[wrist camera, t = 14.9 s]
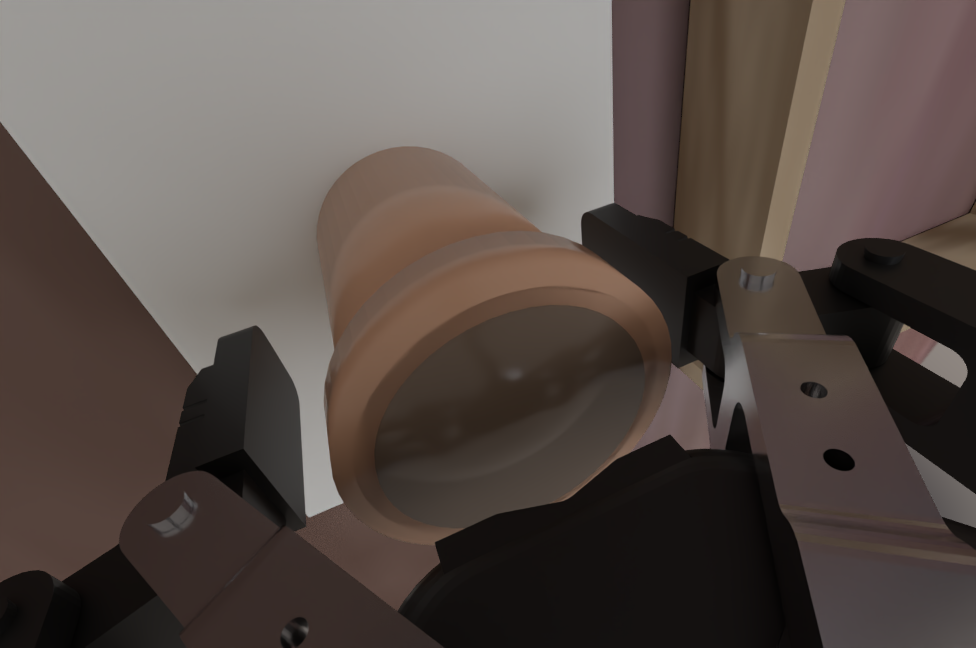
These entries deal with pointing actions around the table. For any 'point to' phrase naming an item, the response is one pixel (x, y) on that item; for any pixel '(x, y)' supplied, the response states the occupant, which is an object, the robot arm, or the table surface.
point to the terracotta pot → (471, 351)
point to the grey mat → (292, 141)
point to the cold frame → (762, 129)
